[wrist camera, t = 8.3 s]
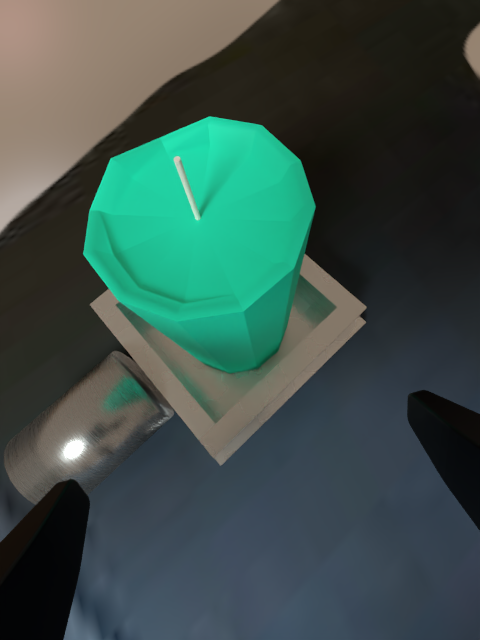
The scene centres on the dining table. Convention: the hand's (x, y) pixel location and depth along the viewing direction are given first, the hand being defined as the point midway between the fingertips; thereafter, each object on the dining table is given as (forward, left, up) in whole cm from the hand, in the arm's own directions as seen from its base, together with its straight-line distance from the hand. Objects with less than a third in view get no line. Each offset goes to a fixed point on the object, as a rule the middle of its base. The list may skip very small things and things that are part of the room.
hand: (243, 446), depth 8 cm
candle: (+5, -3, -8) cm, 10 cm away
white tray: (+5, 0, -9) cm, 10 cm away
